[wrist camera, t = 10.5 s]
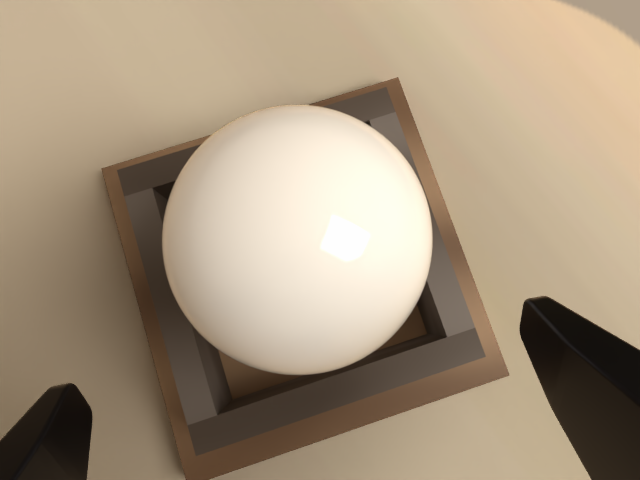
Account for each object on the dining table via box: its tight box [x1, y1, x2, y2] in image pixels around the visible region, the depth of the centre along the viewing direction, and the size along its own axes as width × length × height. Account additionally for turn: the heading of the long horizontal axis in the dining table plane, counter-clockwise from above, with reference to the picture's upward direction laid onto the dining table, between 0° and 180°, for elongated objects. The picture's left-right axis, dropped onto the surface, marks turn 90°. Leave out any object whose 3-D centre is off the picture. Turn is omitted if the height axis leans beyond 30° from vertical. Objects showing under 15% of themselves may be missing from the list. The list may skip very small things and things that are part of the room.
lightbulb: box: [162, 105, 433, 375], centre depth 14 cm, size 6×6×11 cm
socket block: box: [102, 77, 509, 480], centre depth 19 cm, size 13×13×4 cm
